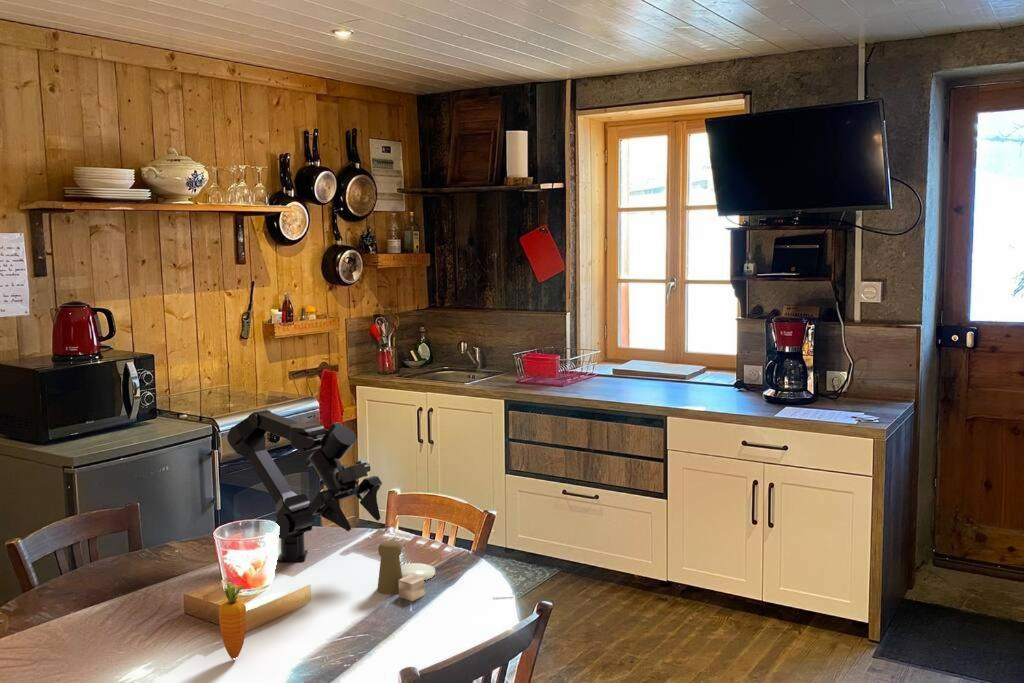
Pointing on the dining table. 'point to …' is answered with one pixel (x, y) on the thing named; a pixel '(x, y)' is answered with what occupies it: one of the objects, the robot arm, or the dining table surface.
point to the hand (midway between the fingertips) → (364, 524)
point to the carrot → (232, 621)
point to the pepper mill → (389, 567)
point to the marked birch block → (411, 587)
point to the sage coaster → (418, 570)
